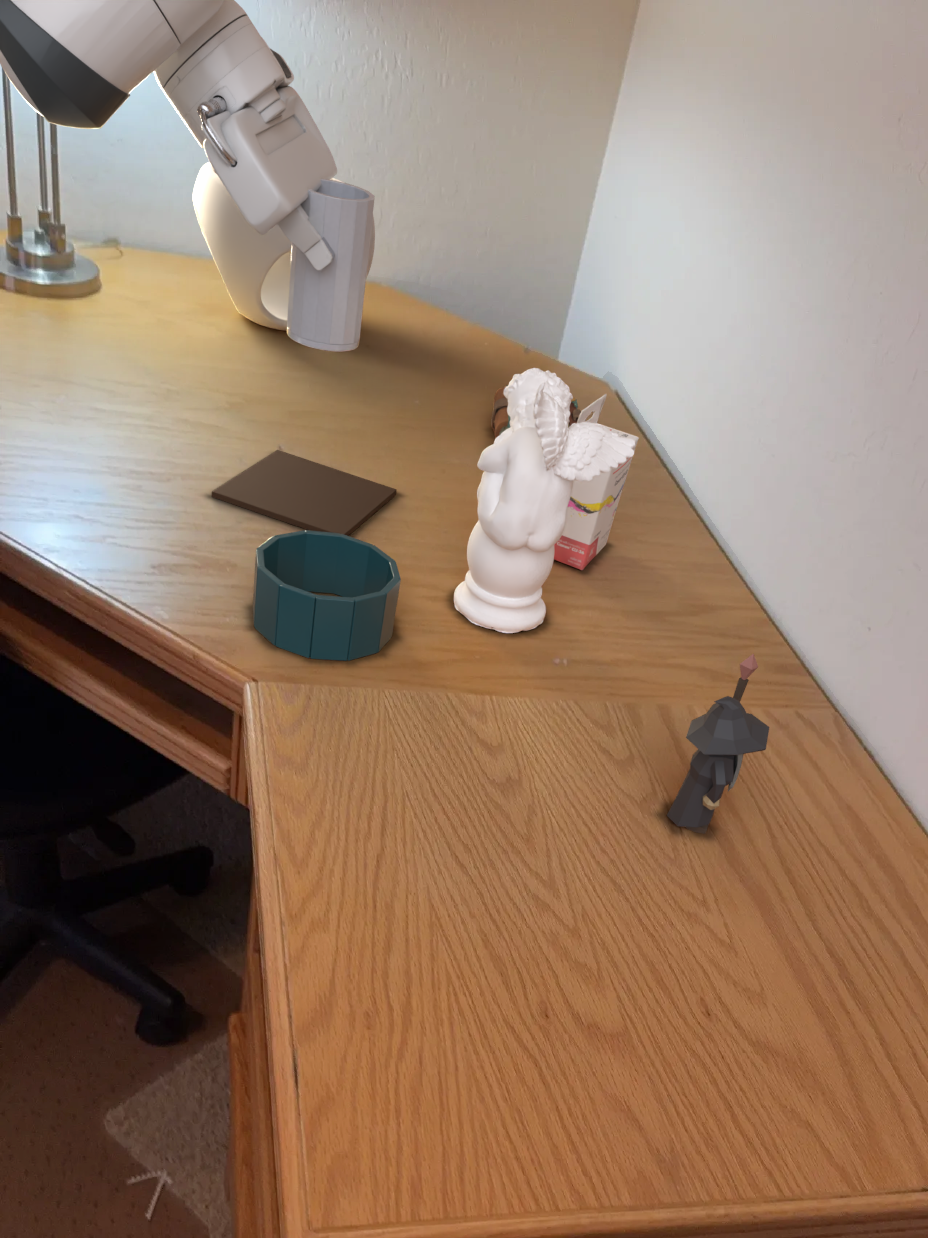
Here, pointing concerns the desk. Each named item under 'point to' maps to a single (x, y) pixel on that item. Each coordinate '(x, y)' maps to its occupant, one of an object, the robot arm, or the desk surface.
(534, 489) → the cherub figurine
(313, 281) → the cup
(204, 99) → the robot arm
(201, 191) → the pot
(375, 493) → the mat
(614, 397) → the desk surface
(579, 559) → the ink cartridge box
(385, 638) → the teal faceted ring
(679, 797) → the wizard figurine
